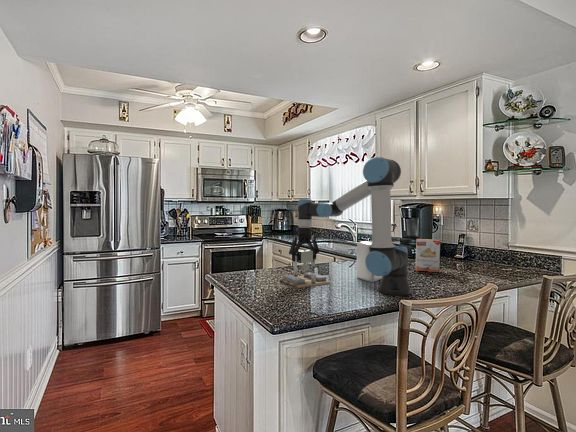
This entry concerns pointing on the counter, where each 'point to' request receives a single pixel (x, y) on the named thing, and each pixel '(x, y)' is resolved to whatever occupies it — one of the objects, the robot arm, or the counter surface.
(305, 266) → the pneumatic valve
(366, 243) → the soap dispenser
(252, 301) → the counter surface
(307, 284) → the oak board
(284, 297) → the counter surface
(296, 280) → the hinge leaves
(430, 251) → the cracker box
